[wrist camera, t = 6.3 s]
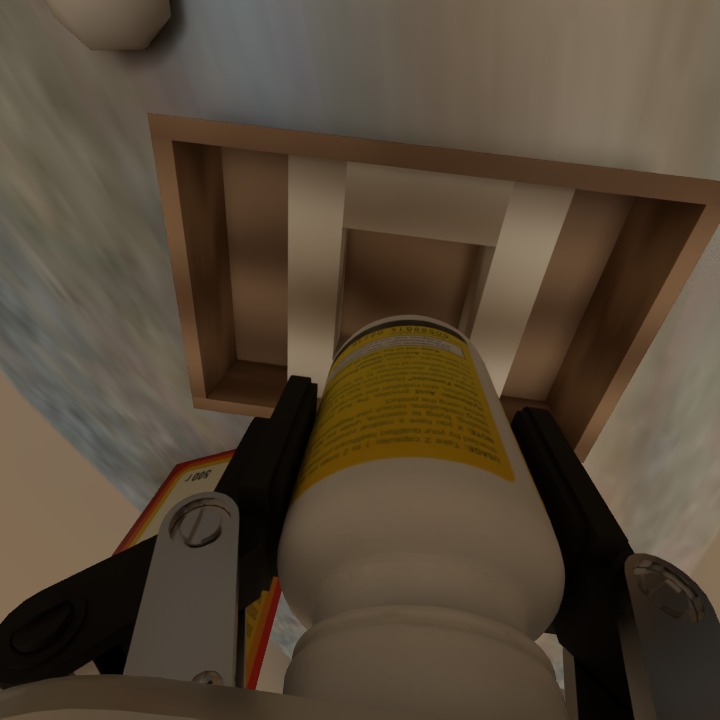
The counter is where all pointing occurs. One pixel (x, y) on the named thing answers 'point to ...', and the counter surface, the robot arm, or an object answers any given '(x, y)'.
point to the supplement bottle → (419, 538)
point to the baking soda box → (174, 489)
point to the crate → (419, 261)
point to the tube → (112, 21)
